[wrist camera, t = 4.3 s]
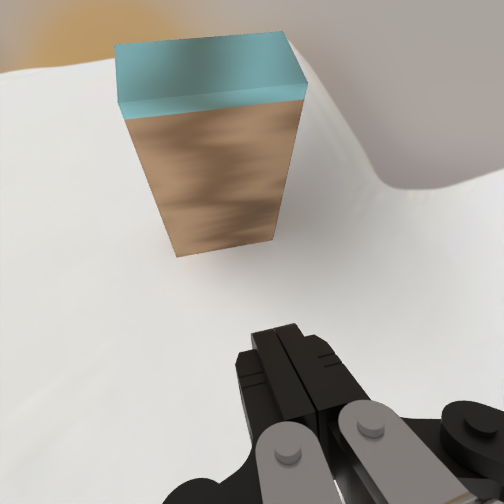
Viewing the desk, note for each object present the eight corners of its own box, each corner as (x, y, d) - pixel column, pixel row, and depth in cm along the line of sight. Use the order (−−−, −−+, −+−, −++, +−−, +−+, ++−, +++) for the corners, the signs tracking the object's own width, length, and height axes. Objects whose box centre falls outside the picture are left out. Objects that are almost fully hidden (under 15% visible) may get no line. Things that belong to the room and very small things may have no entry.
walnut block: (261, 201, 28) (282, 31, 15) (272, 239, 26) (307, 82, 13) (170, 216, 26) (114, 44, 14) (176, 257, 25) (117, 102, 12)
